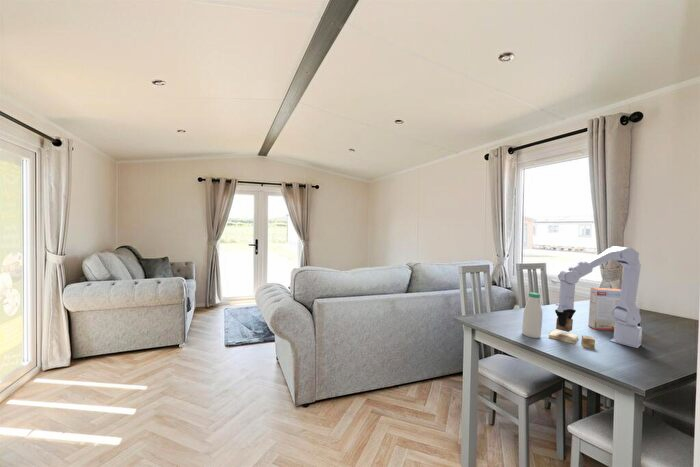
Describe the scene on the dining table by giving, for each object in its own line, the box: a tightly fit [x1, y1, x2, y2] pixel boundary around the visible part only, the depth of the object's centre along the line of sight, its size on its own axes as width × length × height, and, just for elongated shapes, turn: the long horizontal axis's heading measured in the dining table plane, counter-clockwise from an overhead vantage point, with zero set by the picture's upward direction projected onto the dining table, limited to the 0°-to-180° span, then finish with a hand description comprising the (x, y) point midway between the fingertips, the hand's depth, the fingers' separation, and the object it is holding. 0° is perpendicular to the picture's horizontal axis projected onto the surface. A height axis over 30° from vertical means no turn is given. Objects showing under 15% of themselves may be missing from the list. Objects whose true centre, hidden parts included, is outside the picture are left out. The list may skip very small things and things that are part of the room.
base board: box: [548, 329, 579, 345], centre depth 150 cm, size 10×10×2 cm
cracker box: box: [587, 287, 621, 332], centre depth 167 cm, size 14×6×21 cm, turn 84°
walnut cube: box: [555, 317, 574, 333], centre depth 150 cm, size 5×5×5 cm
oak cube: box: [580, 334, 596, 350], centre depth 141 cm, size 4×4×4 cm
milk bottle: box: [521, 292, 543, 339], centre depth 151 cm, size 8×8×20 cm
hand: (564, 325), depth 150 cm, fingers closed on walnut cube, 5 cm apart
